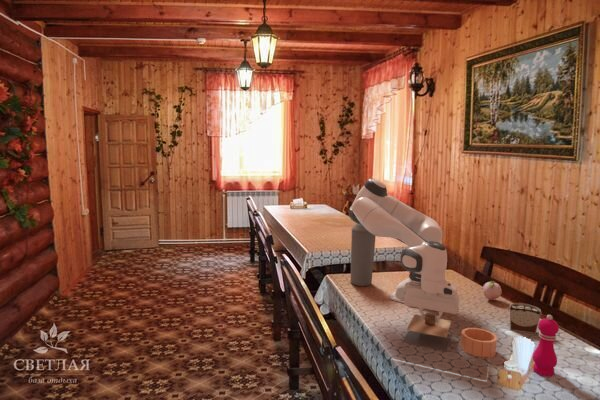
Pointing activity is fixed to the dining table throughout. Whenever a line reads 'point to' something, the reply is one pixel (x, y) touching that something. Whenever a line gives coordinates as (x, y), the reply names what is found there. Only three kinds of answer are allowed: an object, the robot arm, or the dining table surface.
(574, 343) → the dining table surface
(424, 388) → the dining table surface
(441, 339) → the mat
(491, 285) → the decorative fruit
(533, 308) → the food container
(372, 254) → the canister
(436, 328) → the lid
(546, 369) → the pepper mill
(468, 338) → the bowl
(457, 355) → the dining table surface
